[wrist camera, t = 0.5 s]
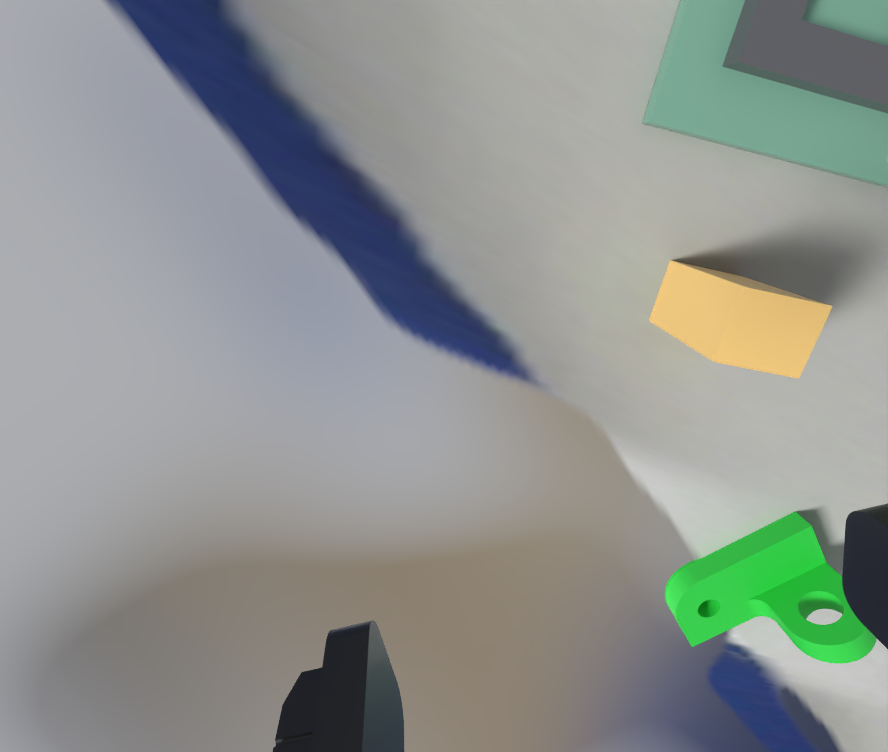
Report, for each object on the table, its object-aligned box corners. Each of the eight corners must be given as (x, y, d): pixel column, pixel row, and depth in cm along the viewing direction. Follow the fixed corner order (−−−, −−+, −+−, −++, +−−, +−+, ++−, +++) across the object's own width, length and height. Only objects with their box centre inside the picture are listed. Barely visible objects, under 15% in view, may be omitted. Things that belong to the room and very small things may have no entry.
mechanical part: (793, 509, 43) (876, 583, 35) (815, 562, 45) (897, 641, 37) (653, 580, 44) (704, 664, 37) (680, 627, 46) (734, 716, 39)
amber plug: (670, 260, 35) (744, 286, 27) (741, 276, 35) (832, 306, 28) (648, 320, 36) (713, 361, 29) (717, 334, 37) (798, 378, 29)
